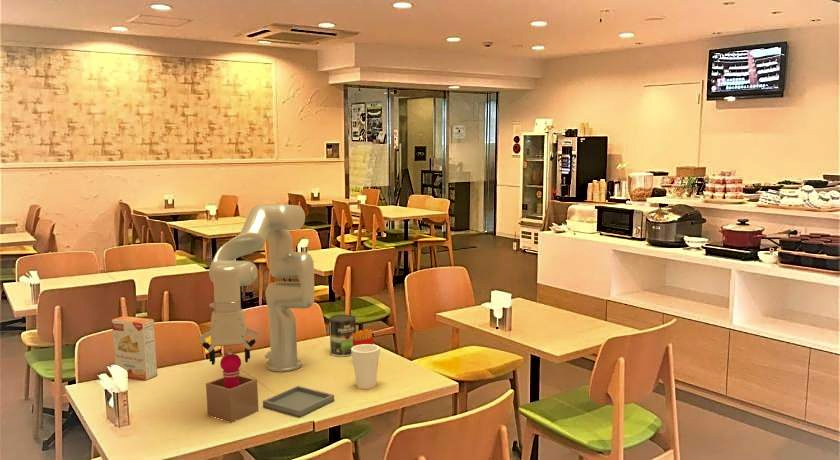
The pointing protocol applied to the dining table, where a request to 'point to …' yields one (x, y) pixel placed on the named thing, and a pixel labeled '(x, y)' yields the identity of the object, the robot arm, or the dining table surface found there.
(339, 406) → the dining table surface
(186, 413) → the dining table surface
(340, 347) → the coffee can
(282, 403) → the tray
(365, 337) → the french fries
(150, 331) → the cracker box
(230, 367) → the pepper mill
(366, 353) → the foam cup
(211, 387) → the open box
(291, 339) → the robot arm
